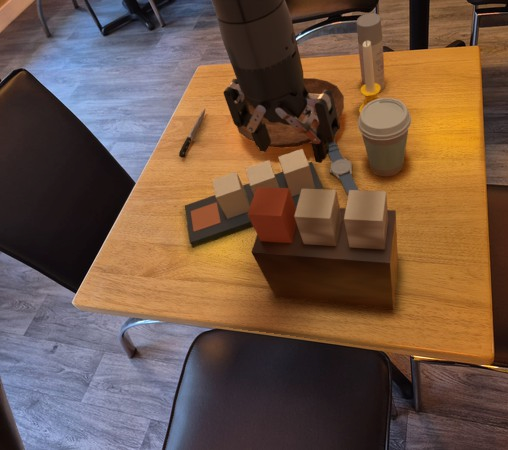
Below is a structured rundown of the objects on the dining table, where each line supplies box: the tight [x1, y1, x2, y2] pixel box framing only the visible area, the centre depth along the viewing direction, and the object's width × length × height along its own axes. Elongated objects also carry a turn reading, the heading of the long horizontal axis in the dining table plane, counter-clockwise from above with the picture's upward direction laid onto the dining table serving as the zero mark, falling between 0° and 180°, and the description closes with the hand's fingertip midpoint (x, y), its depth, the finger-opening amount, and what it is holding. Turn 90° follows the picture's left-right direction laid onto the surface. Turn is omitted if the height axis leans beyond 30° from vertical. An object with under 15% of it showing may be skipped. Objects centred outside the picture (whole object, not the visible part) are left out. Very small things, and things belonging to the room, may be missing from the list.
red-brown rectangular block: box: [248, 187, 297, 243], centre depth 57 cm, size 4×4×6 cm
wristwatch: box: [327, 139, 359, 196], centre depth 80 cm, size 4×20×1 cm, turn 15°
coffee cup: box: [357, 97, 412, 177], centre depth 75 cm, size 8×8×12 cm
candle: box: [358, 40, 381, 115], centre depth 83 cm, size 5×5×16 cm
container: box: [356, 12, 386, 93], centre depth 87 cm, size 5×5×15 cm
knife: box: [178, 108, 206, 159], centre depth 94 cm, size 15×1×2 cm, turn 166°
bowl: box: [236, 77, 345, 149], centre depth 88 cm, size 20×22×5 cm
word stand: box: [250, 188, 399, 310], centre depth 60 cm, size 18×8×19 cm, turn 78°
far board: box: [184, 148, 324, 248], centre depth 77 cm, size 9×25×8 cm, turn 105°
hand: (293, 152), depth 60 cm, fingers open, 8 cm apart
